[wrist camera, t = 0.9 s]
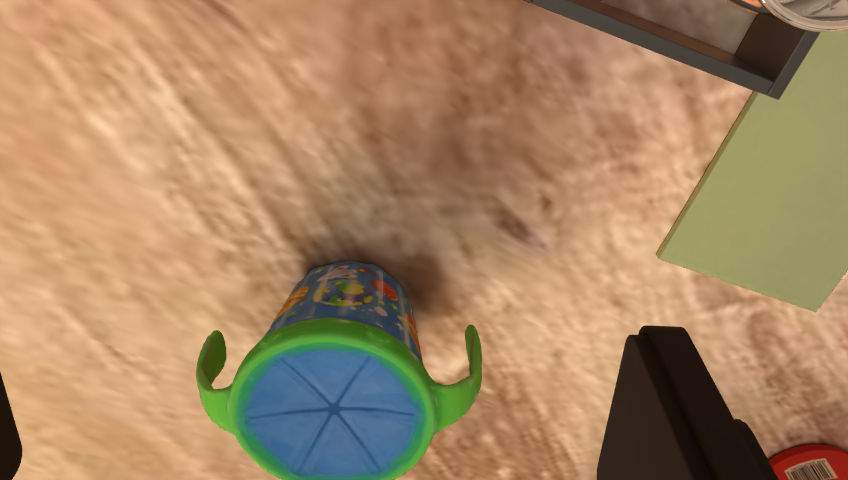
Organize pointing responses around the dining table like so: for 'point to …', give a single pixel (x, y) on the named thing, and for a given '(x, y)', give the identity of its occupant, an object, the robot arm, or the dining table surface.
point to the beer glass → (802, 13)
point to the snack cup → (337, 382)
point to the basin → (704, 44)
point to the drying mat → (777, 190)
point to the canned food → (811, 463)
